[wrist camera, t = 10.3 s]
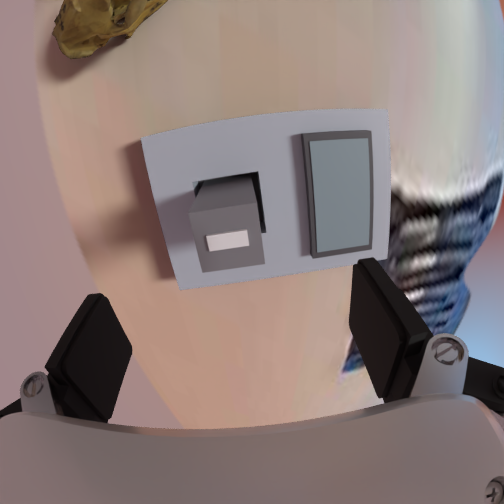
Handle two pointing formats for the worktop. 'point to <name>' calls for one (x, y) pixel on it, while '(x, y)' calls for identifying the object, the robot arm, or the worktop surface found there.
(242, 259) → the block
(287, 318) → the worktop surface
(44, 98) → the worktop surface
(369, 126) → the dock board
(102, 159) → the worktop surface
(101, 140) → the worktop surface
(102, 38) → the animal skull
